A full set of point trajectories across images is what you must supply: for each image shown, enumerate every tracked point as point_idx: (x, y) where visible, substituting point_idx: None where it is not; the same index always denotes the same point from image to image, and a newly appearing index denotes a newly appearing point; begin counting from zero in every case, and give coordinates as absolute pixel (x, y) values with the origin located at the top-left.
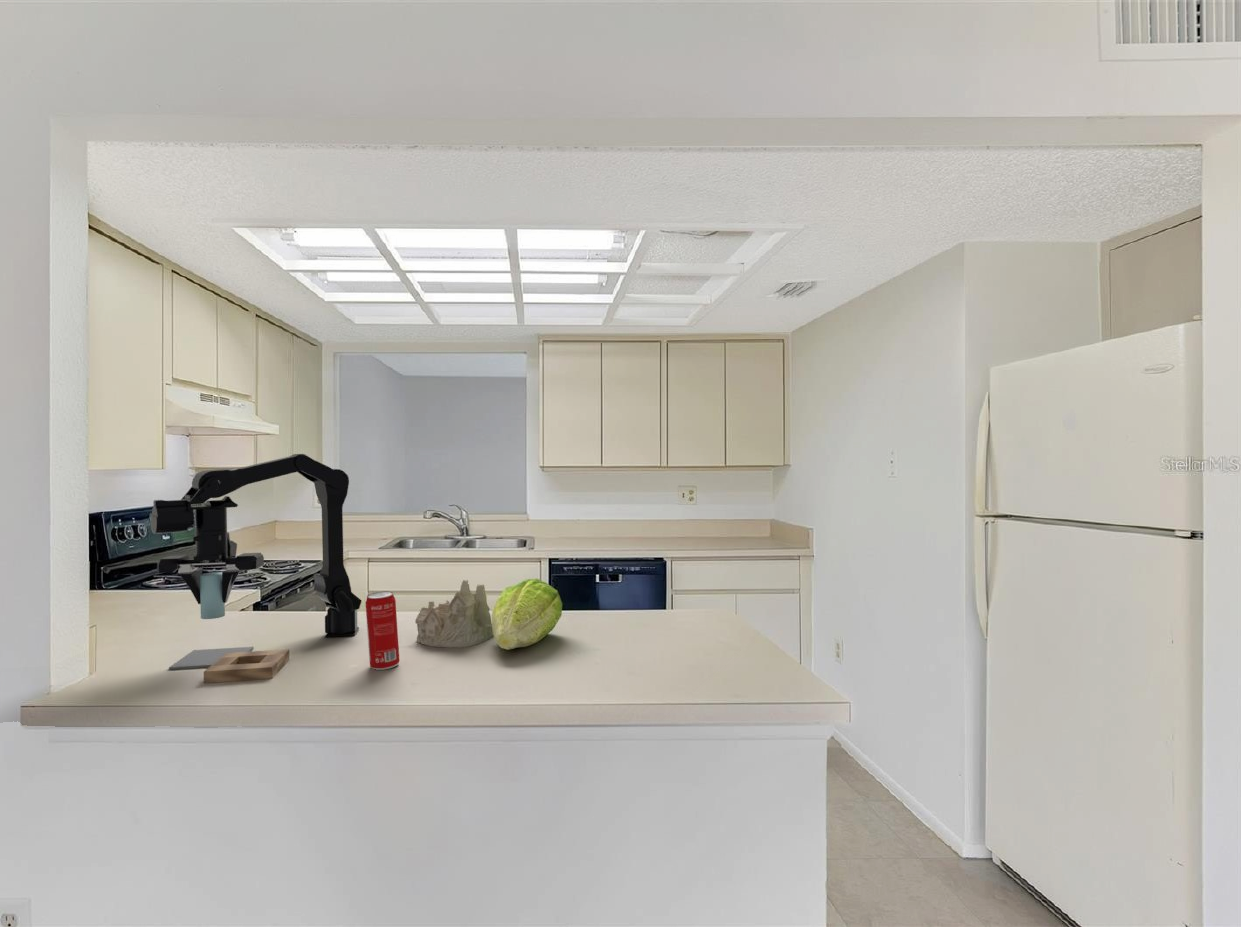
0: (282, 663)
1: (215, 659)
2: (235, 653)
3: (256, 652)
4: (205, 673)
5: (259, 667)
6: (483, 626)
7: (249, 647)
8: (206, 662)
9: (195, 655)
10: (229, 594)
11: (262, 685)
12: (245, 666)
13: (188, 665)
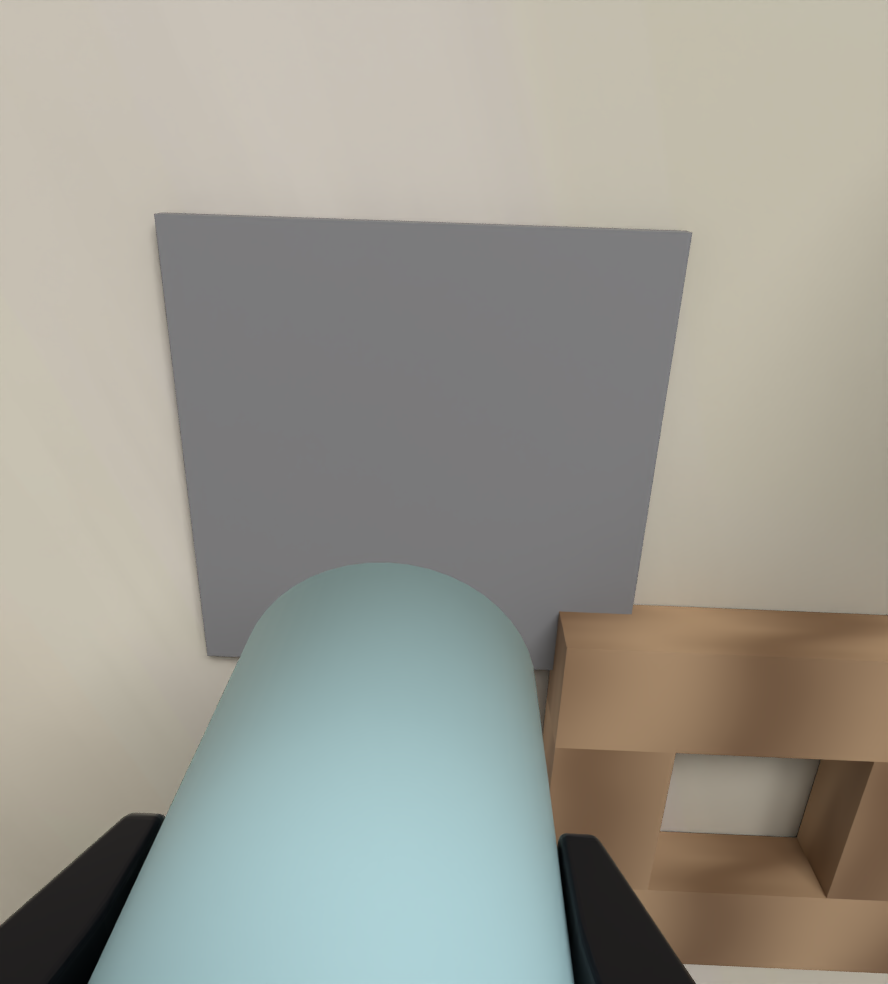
0: None
1: (463, 556)
2: (637, 679)
3: (791, 689)
4: None
5: (834, 964)
6: None
7: (659, 252)
8: None
9: (257, 407)
10: (673, 961)
11: (824, 976)
12: (751, 935)
13: None
